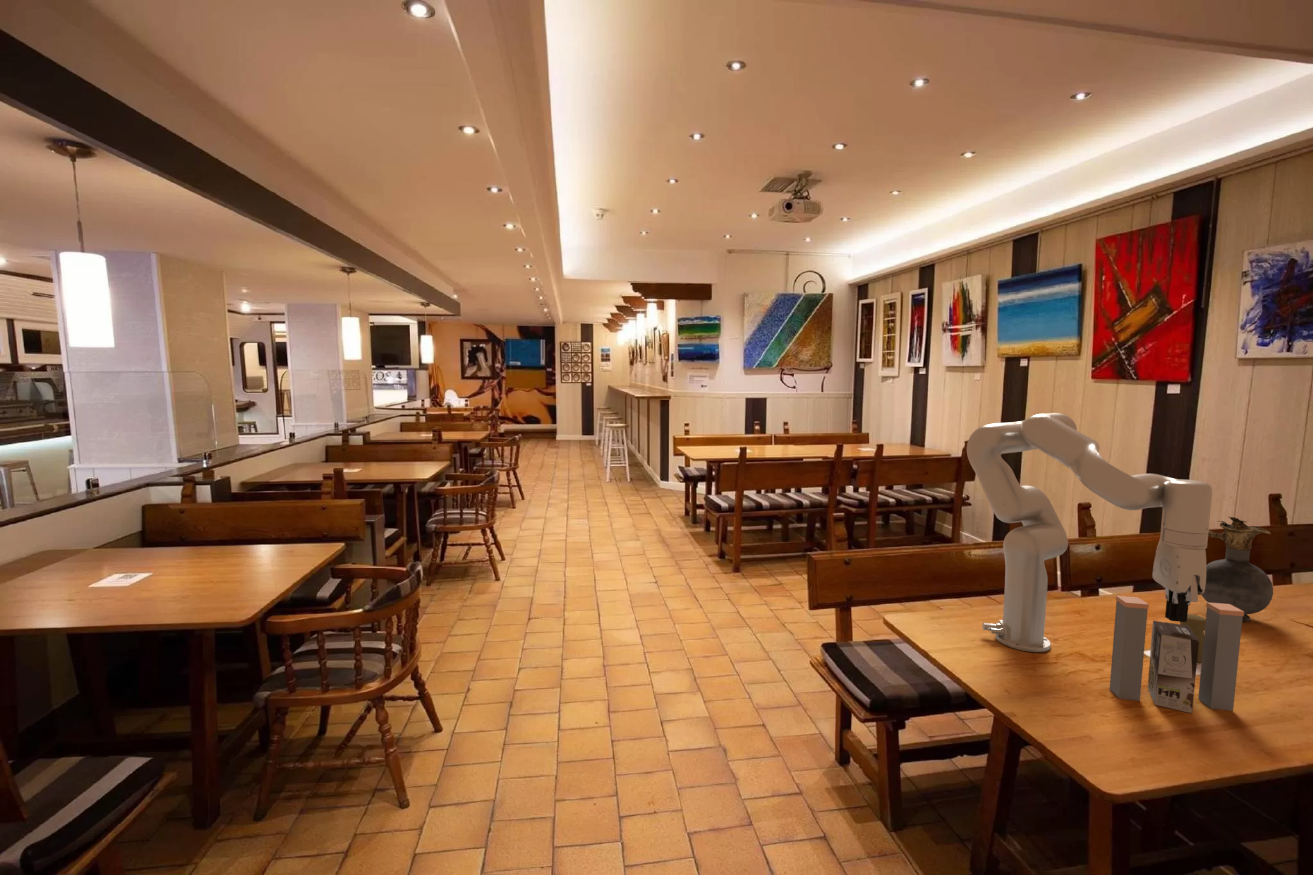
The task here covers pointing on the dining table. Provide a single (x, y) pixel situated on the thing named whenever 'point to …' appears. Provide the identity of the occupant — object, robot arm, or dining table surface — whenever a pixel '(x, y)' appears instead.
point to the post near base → (1128, 647)
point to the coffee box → (1173, 665)
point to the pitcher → (1238, 572)
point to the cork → (1197, 631)
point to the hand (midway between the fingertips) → (1175, 619)
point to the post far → (1220, 655)
